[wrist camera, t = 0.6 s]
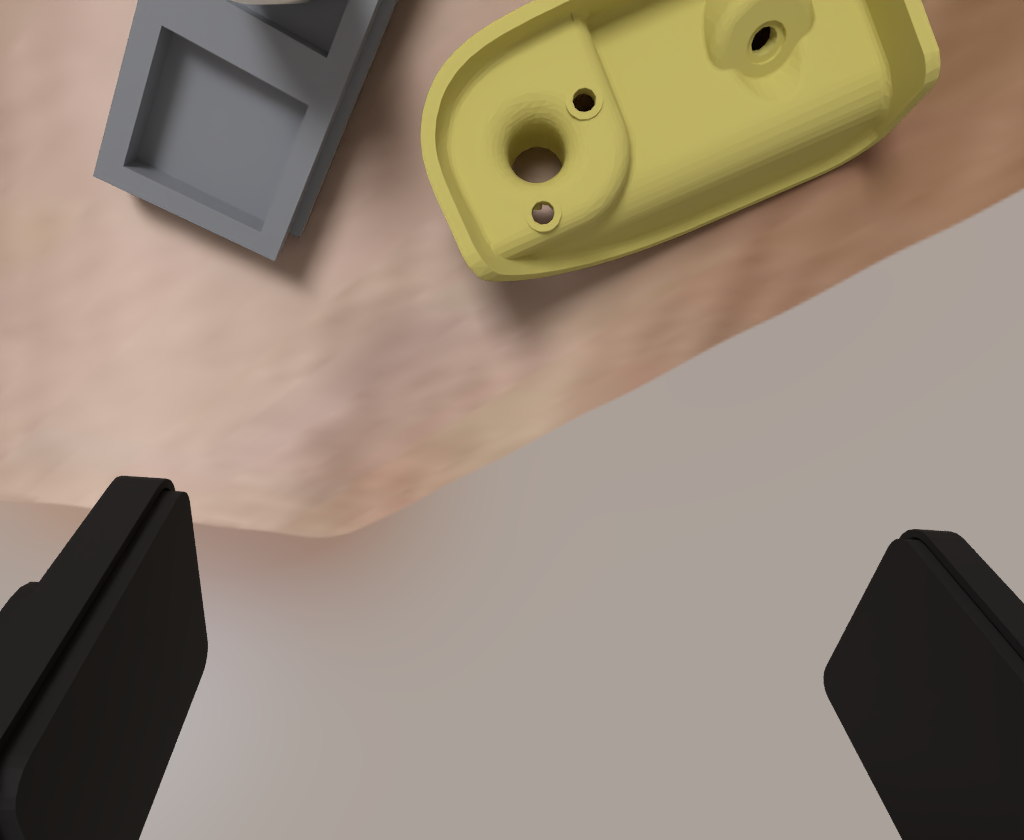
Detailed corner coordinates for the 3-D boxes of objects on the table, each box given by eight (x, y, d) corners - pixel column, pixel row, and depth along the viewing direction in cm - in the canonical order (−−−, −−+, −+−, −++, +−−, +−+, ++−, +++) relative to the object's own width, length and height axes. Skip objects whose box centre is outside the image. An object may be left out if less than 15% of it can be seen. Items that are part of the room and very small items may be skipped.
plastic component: (864, -155, 26) (957, 99, 27) (794, -44, 34) (868, 154, 34) (382, 70, 28) (482, 306, 28) (416, 129, 35) (494, 316, 36)
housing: (213, -250, 25) (190, -273, 23) (438, -99, 28) (436, -107, 26) (106, 159, 32) (80, 170, 30) (295, 249, 35) (284, 266, 33)
